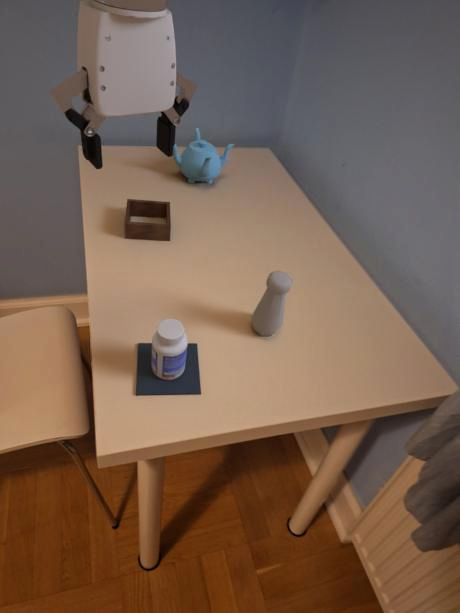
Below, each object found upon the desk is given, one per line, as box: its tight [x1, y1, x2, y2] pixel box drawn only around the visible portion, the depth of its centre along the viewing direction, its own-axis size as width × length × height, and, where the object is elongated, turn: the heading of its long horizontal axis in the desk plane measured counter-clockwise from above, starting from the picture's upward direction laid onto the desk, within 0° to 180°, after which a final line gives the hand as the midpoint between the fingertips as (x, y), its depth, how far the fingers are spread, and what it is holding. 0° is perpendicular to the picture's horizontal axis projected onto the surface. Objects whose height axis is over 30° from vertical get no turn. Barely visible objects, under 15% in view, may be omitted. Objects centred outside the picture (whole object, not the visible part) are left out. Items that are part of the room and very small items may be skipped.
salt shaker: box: [251, 270, 294, 337], centre depth 71 cm, size 6×6×13 cm
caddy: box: [124, 198, 172, 242], centre depth 91 cm, size 10×10×4 cm
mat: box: [135, 342, 202, 397], centre depth 66 cm, size 10×10×1 cm
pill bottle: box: [151, 318, 189, 380], centre depth 63 cm, size 5×5×10 cm
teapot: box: [172, 127, 236, 184], centre depth 108 cm, size 13×13×10 cm
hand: (131, 157), depth 51 cm, fingers open, 9 cm apart
